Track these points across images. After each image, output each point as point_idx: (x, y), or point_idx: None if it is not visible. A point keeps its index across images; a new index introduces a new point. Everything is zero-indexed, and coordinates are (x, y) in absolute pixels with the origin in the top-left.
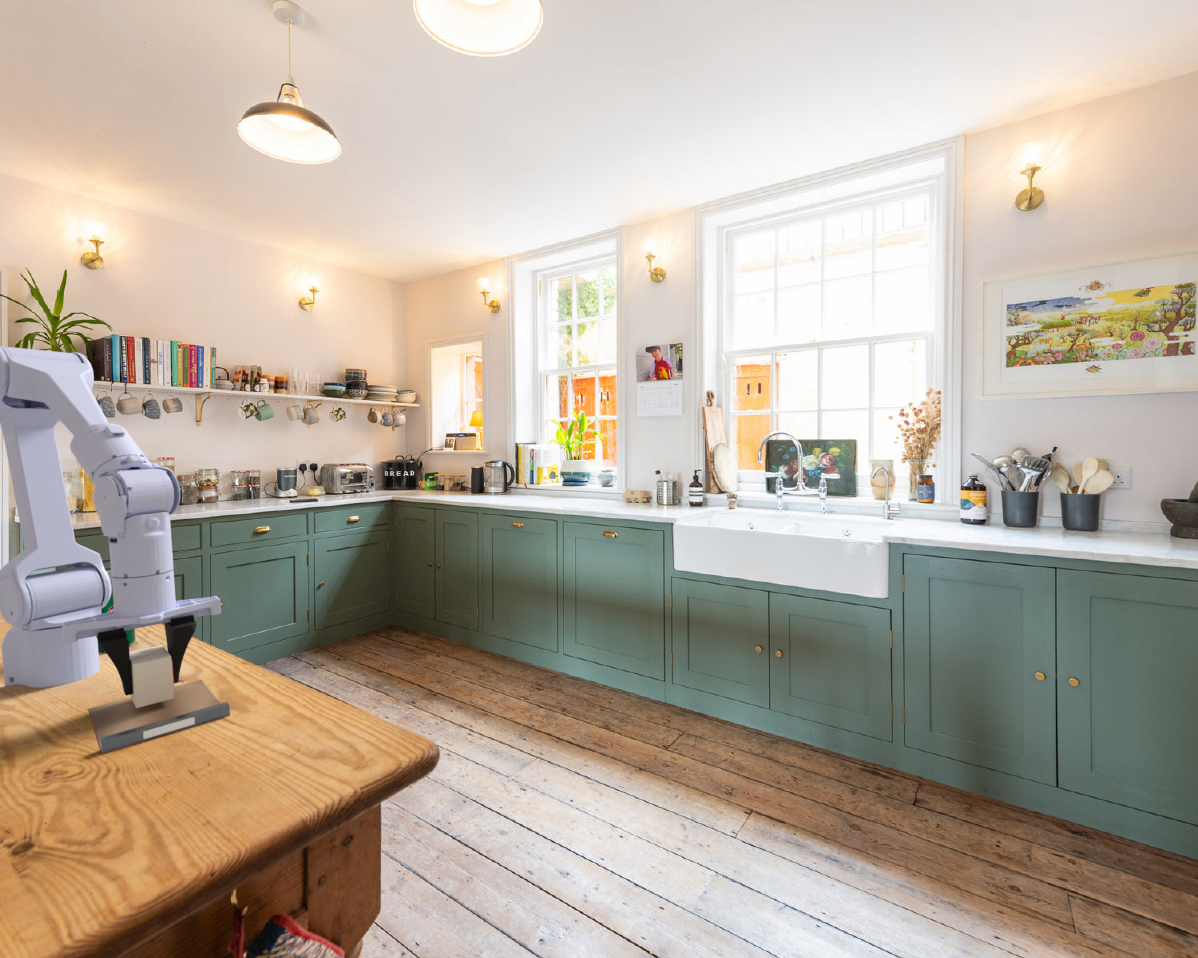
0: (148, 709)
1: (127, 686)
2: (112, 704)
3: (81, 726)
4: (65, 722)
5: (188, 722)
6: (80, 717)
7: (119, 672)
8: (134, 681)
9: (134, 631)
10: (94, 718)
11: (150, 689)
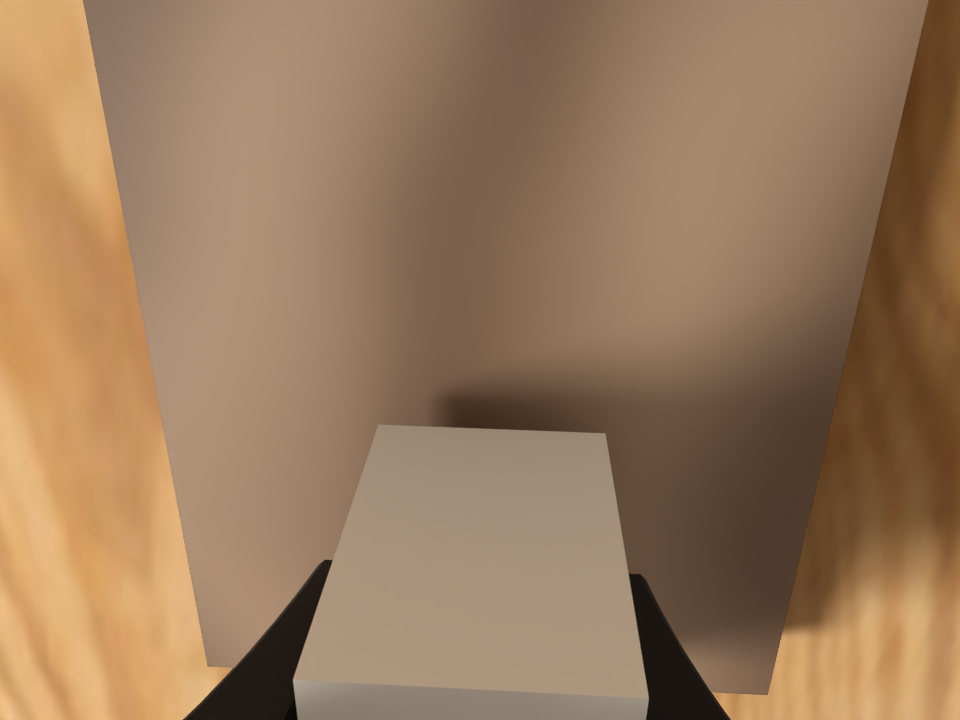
0: None
1: (647, 609)
2: None
3: (792, 604)
4: (827, 700)
5: None
6: (763, 709)
7: (725, 717)
8: (625, 566)
9: None
10: (789, 539)
11: (511, 497)
